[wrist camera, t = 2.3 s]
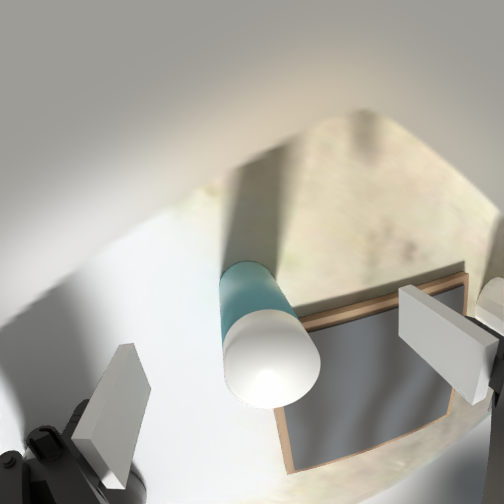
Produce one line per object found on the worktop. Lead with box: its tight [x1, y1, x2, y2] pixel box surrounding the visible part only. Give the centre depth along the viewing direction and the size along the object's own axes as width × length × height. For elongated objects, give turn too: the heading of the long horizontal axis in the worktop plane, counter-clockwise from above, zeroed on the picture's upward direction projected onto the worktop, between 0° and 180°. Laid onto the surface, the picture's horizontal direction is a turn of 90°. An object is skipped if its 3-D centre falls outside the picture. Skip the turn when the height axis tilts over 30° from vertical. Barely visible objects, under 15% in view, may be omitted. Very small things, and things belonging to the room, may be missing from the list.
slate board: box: [274, 271, 469, 475], centre depth 26 cm, size 20×18×1 cm
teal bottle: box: [219, 261, 320, 409], centre depth 18 cm, size 4×4×11 cm
